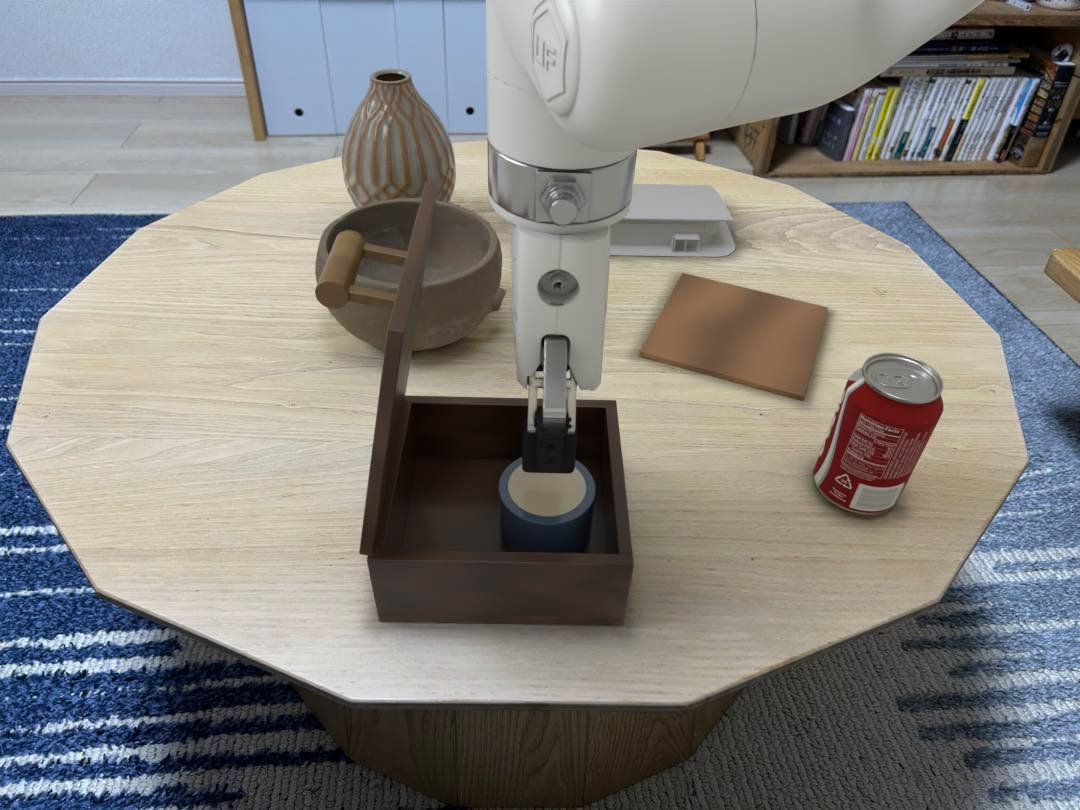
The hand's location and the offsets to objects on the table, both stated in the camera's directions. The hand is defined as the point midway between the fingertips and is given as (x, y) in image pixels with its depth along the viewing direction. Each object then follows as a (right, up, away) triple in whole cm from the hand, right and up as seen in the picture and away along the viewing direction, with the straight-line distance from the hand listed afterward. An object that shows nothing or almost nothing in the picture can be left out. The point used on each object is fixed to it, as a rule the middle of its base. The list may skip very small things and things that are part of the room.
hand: (547, 415), depth 51 cm
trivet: (+20, +8, +28) cm, 35 cm away
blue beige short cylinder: (0, -9, +7) cm, 11 cm away
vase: (-17, +23, +44) cm, 52 cm away
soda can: (+25, -6, +12) cm, 29 cm away
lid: (-9, +3, -3) cm, 10 cm away
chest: (-3, -9, +8) cm, 12 cm away
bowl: (-13, +9, +28) cm, 32 cm away
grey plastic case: (+11, +23, +45) cm, 52 cm away
